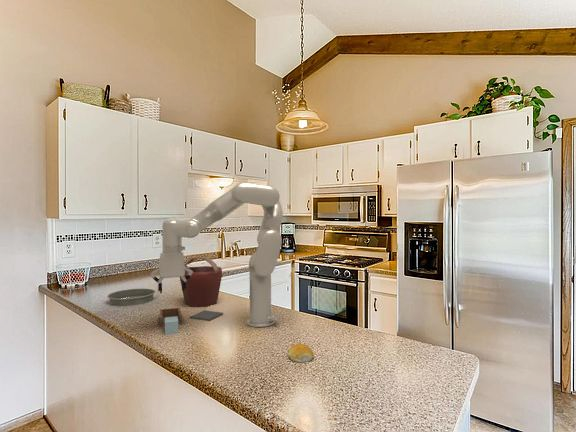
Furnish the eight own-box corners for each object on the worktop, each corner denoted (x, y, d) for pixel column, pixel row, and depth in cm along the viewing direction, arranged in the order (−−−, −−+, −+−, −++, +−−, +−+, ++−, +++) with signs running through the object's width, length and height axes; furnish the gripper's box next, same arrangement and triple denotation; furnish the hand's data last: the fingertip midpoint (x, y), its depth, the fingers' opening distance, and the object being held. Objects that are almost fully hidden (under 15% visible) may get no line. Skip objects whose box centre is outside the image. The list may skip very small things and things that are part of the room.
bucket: (173, 302, 182) (173, 257, 182) (209, 295, 196) (209, 253, 196) (193, 311, 163) (193, 261, 163) (231, 303, 178) (231, 257, 178)
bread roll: (308, 351, 116) (308, 339, 116) (316, 361, 107) (316, 349, 107) (285, 353, 114) (285, 341, 114) (291, 364, 105) (291, 352, 105)
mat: (223, 314, 159) (223, 312, 159) (209, 321, 148) (209, 319, 148) (204, 311, 163) (204, 310, 163) (189, 318, 153) (189, 316, 153)
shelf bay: (182, 324, 144) (182, 316, 144) (160, 327, 141) (160, 318, 141) (179, 314, 158) (179, 307, 158) (159, 317, 154) (159, 309, 154)
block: (178, 333, 133) (178, 321, 133) (165, 335, 131) (165, 322, 131) (177, 327, 140) (177, 316, 140) (164, 329, 138) (164, 317, 138)
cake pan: (108, 298, 191) (108, 290, 191) (154, 294, 201) (154, 286, 201) (105, 309, 169) (105, 300, 169) (156, 303, 179) (156, 295, 179)
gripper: (192, 248, 144) (192, 288, 144) (149, 249, 137) (149, 291, 137) (194, 249, 137) (194, 291, 137) (149, 251, 130) (149, 295, 130)
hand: (172, 291), depth 137 cm, fingers open, 8 cm apart
